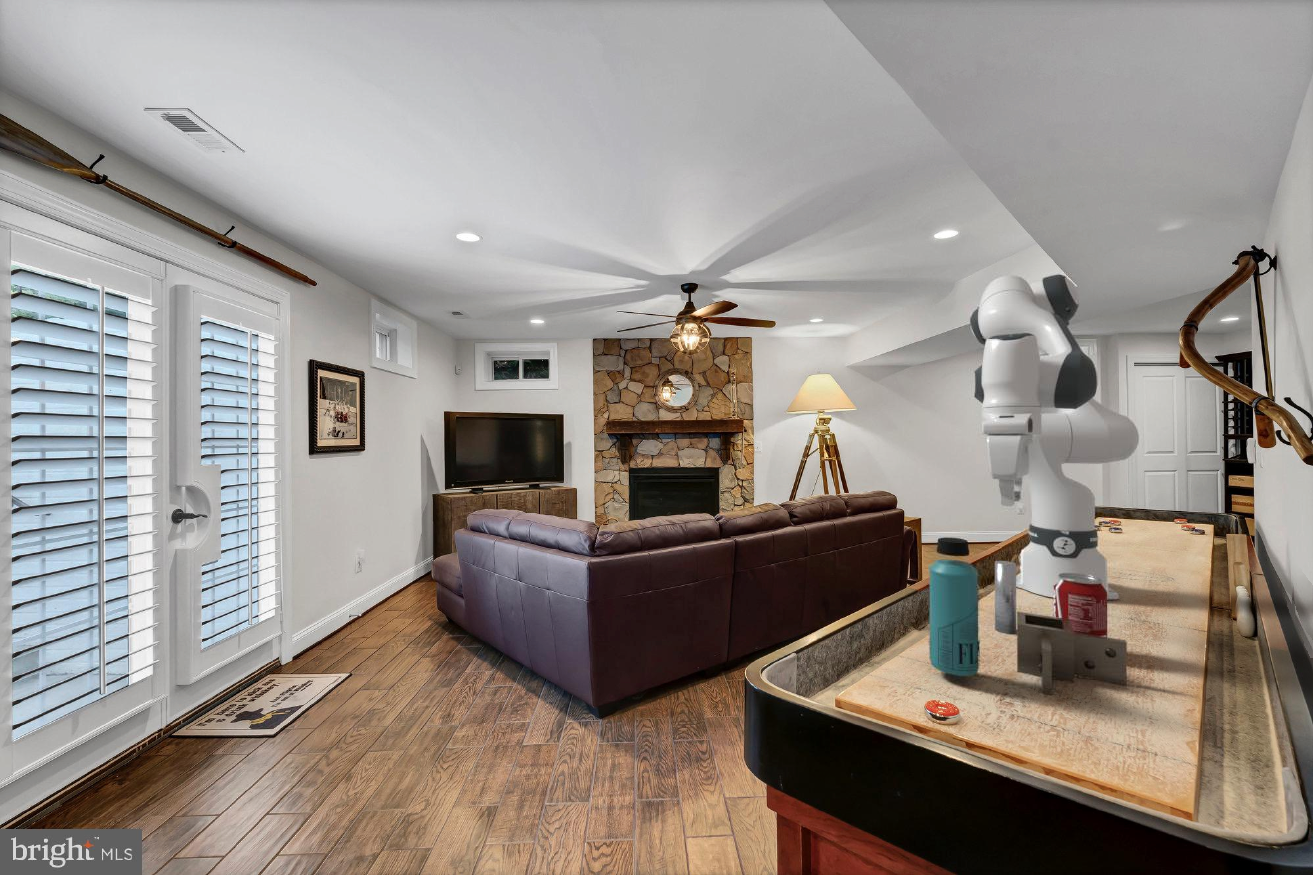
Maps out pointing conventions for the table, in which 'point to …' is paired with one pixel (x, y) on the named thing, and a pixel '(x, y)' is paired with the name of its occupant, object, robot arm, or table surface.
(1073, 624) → the soda can
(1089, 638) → the grey metal bracket
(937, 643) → the beverage bottle
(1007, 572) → the pin
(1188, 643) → the table surface
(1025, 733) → the table surface
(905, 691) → the table surface
